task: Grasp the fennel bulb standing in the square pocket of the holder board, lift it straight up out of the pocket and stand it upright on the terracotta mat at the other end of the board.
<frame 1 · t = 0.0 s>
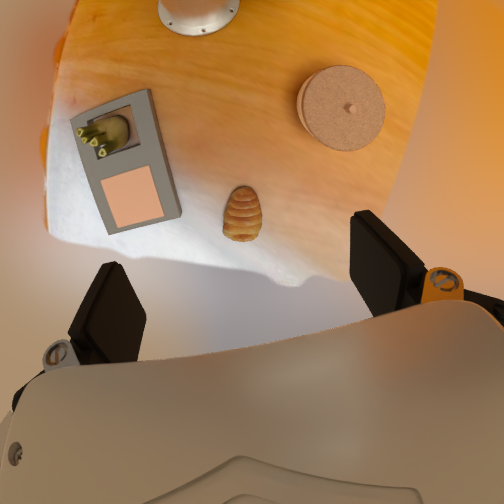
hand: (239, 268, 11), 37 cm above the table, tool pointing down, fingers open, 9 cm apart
holder board: (127, 163, 42), on the table
fennel bulb: (118, 130, 39), resting in holder board
pastry: (241, 213, 50), on the table
lidded bowl: (324, 105, 41), on the table
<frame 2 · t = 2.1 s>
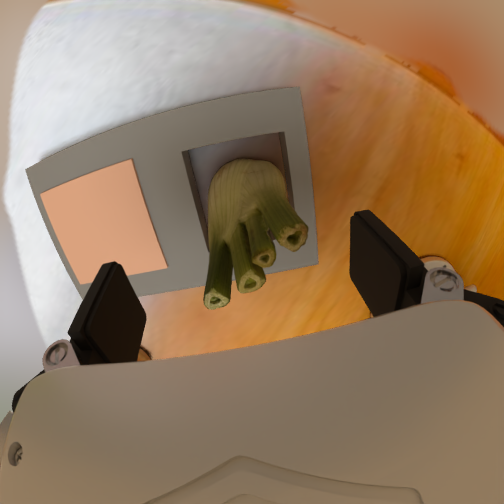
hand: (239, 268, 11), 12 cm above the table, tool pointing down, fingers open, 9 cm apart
holder board: (168, 200, 22), on the table
fennel bulb: (241, 184, 22), resting in holder board
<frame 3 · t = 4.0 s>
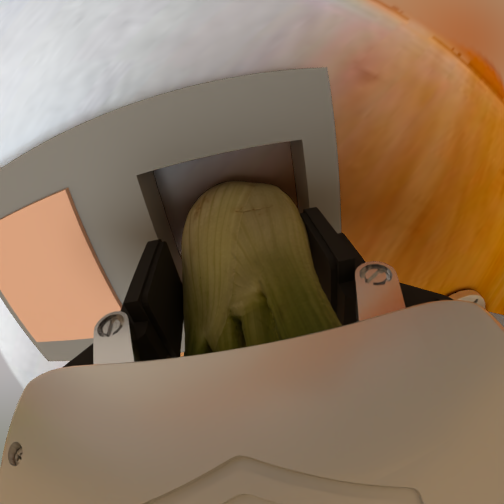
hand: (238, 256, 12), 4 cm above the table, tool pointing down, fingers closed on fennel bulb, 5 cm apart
holder board: (131, 240, 15), on the table
fennel bulb: (233, 215, 15), resting in holder board, touching gripper
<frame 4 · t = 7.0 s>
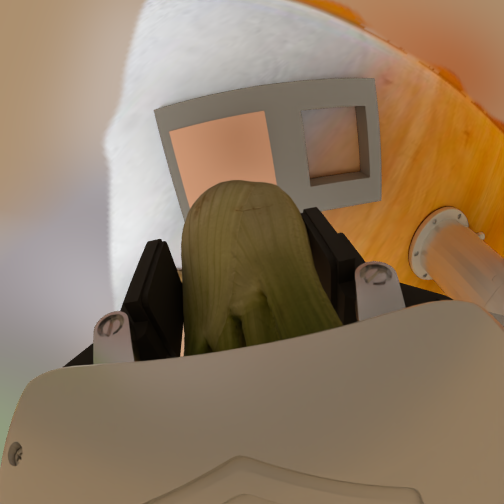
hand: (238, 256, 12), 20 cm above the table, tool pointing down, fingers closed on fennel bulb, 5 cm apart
holder board: (277, 148, 28), on the table
fennel bulb: (233, 214, 15), point 15 cm above the table, touching gripper
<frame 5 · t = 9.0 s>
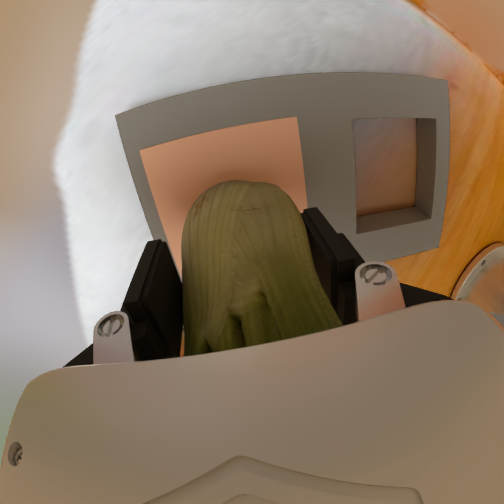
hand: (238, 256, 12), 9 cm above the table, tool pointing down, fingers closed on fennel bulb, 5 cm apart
holder board: (308, 174, 19), on the table
fennel bulb: (233, 214, 15), point 5 cm above the table, touching gripper
when the fingers open (8 cm above the table, at t = 10.0 s): fennel bulb drops 1 cm, resting on holder board.
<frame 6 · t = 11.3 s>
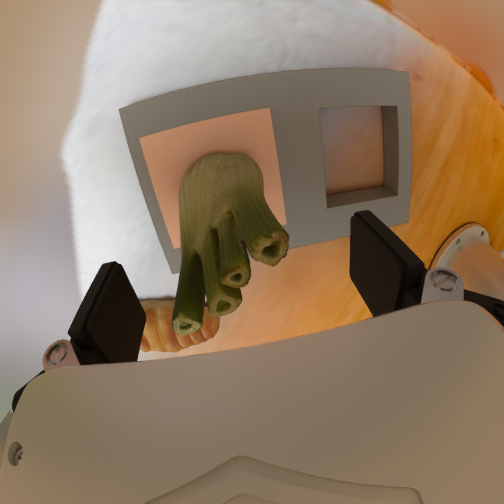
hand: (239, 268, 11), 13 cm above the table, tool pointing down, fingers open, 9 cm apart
holder board: (283, 158, 22), on the table
fennel bulb: (217, 180, 20), point 3 cm above the table, touching holder board
pastry: (170, 315, 30), on the table
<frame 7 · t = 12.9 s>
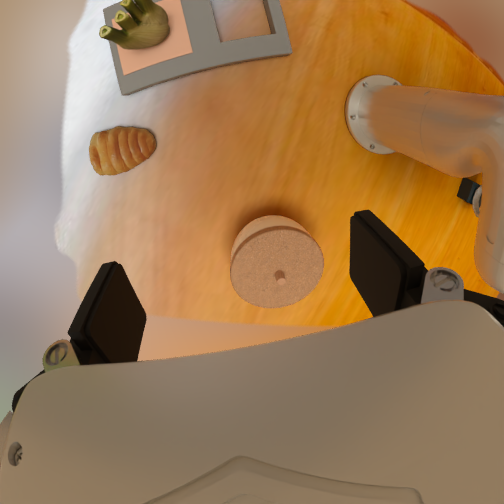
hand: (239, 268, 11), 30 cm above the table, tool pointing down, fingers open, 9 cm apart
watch: (466, 189, 44), on the table
holder board: (195, 25, 27), on the table
fennel bulb: (150, 33, 25), point 3 cm above the table, touching holder board
pastry: (121, 146, 35), on the table
lidded bowl: (267, 239, 45), on the table
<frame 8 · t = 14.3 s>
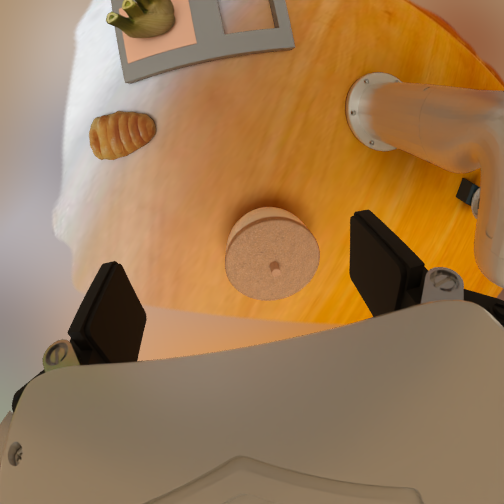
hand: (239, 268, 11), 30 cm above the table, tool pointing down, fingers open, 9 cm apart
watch: (465, 191, 44), on the table
holder board: (200, 18, 27), on the table
fennel bulb: (156, 23, 25), point 3 cm above the table, touching holder board
pastry: (121, 131, 34), on the table
lidded bowl: (263, 231, 45), on the table
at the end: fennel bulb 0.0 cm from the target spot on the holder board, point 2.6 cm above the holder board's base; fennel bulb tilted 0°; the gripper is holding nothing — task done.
